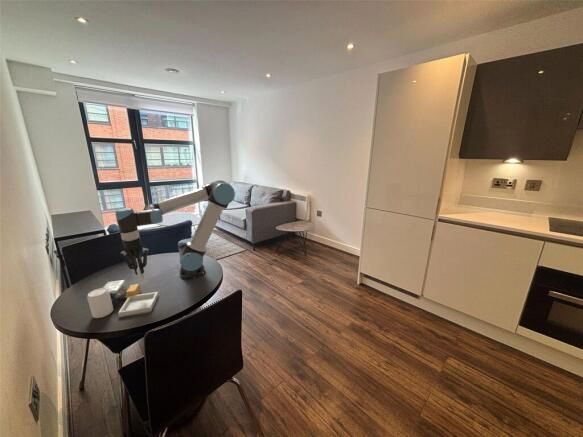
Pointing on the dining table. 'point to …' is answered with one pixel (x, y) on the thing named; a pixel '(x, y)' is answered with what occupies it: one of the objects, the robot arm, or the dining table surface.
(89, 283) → the dining table surface
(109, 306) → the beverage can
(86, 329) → the dining table surface
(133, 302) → the tray
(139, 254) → the robot arm
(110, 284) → the white hollow block
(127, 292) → the block
